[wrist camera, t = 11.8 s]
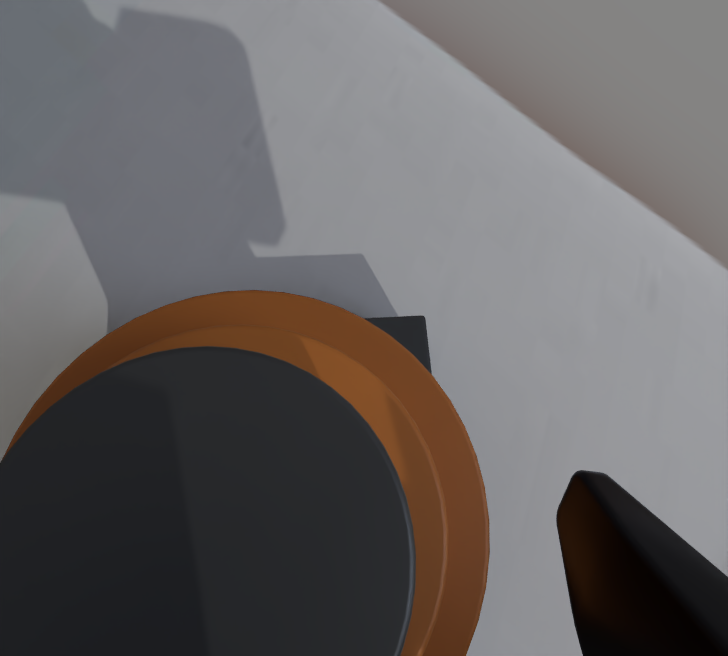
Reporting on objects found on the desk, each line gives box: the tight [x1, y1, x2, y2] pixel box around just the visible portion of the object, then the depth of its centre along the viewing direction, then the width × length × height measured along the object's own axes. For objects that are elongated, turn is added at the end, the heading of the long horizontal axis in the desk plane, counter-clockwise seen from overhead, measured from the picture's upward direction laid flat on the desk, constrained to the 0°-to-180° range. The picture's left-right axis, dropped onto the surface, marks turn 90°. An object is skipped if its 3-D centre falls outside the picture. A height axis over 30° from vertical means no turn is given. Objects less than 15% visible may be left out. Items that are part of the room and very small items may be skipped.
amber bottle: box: [0, 290, 490, 656], centre depth 9 cm, size 5×5×13 cm
